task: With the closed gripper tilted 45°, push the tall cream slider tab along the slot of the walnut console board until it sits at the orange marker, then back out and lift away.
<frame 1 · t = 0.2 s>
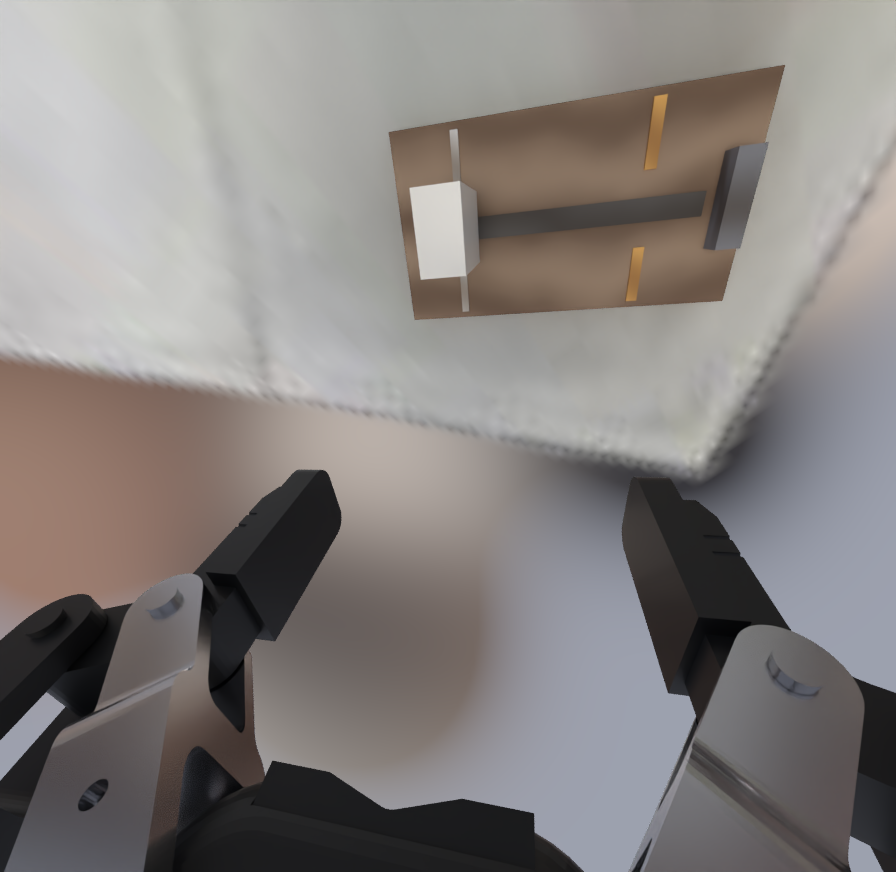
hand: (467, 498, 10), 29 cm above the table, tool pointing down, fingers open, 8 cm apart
slider tab: (451, 231, 26), point 7 cm above the table, slide at 0.0 cm
console board: (558, 219, 30), on the table
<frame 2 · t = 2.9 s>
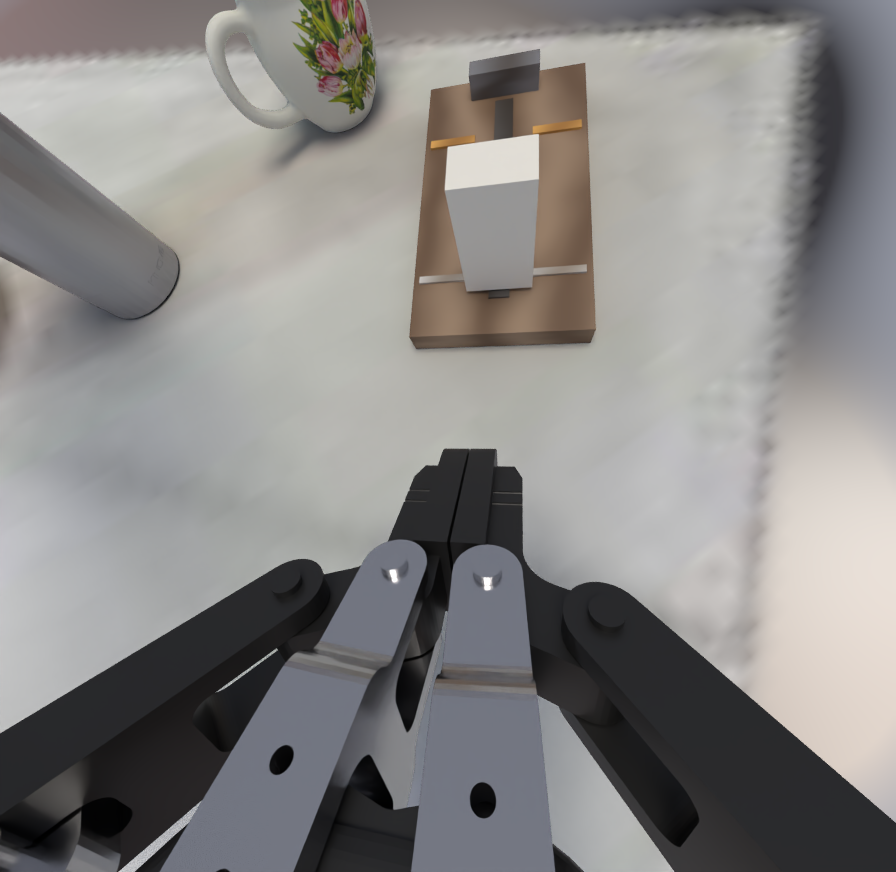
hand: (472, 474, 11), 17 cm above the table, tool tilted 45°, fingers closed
slider tab: (496, 227, 24), point 7 cm above the table, slide at 0.0 cm
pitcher: (338, 116, 39), on the table
console board: (502, 212, 32), on the table
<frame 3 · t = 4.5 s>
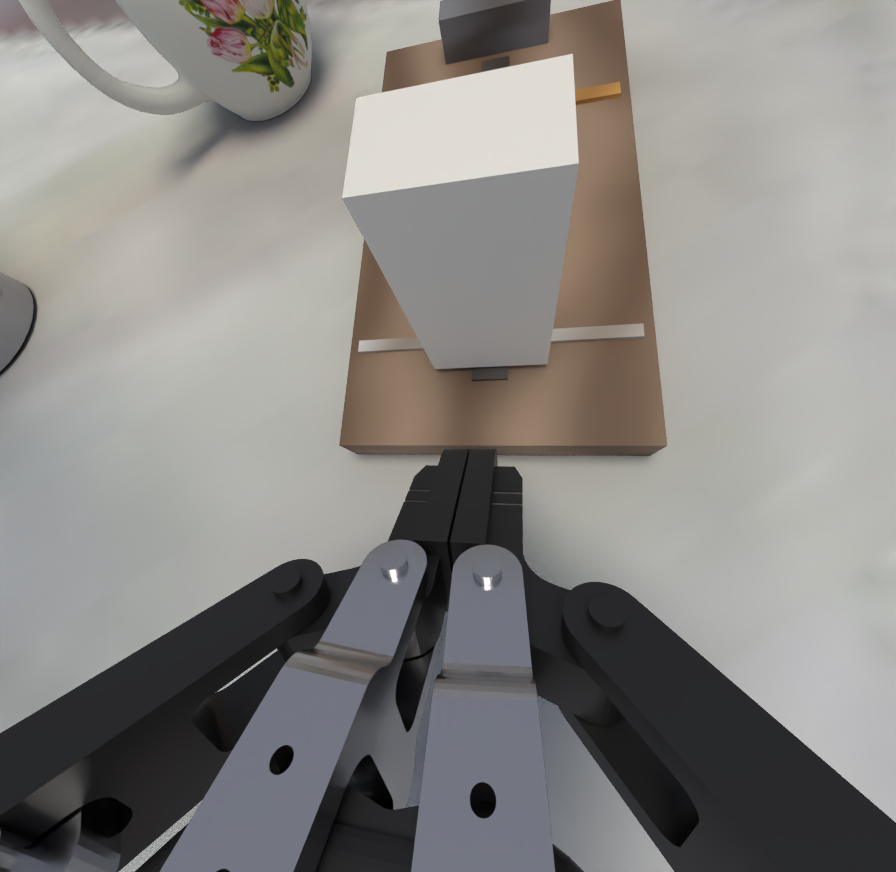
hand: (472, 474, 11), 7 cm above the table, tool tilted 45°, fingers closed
slider tab: (478, 268, 12), point 7 cm above the table, slide at 0.0 cm
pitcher: (265, 99, 28), on the table
console board: (495, 231, 21), on the table
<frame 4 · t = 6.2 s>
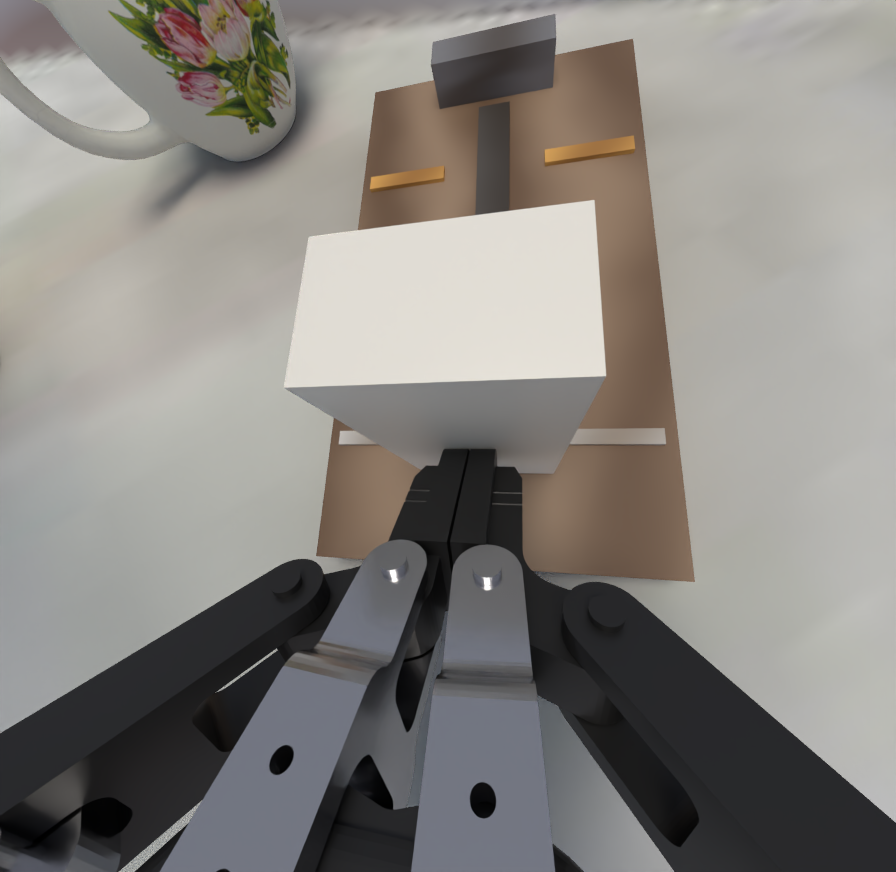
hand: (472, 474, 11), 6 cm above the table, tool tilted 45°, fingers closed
slider tab: (472, 395, 10), point 7 cm above the table, slide at 0.0 cm, touching gripper
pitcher: (246, 137, 26), on the table
console board: (494, 296, 19), on the table
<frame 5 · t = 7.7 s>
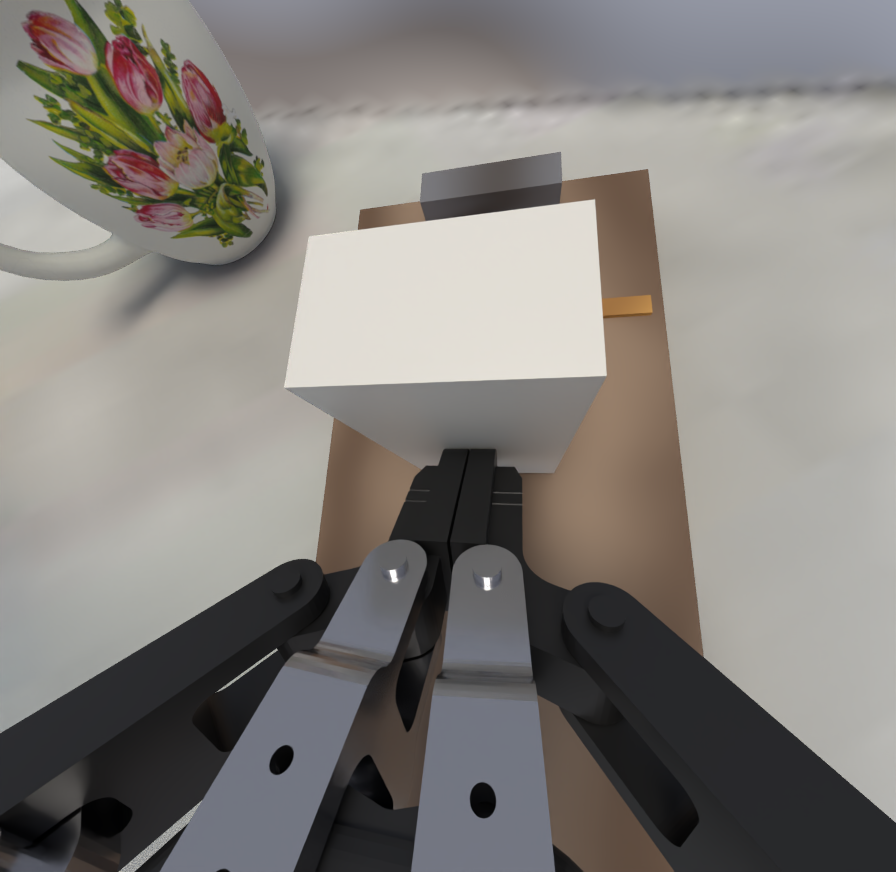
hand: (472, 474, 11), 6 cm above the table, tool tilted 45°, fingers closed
slider tab: (472, 394, 10), point 7 cm above the table, slide at 8.5 cm, touching gripper
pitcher: (223, 235, 24), on the table
console board: (492, 458, 17), on the table
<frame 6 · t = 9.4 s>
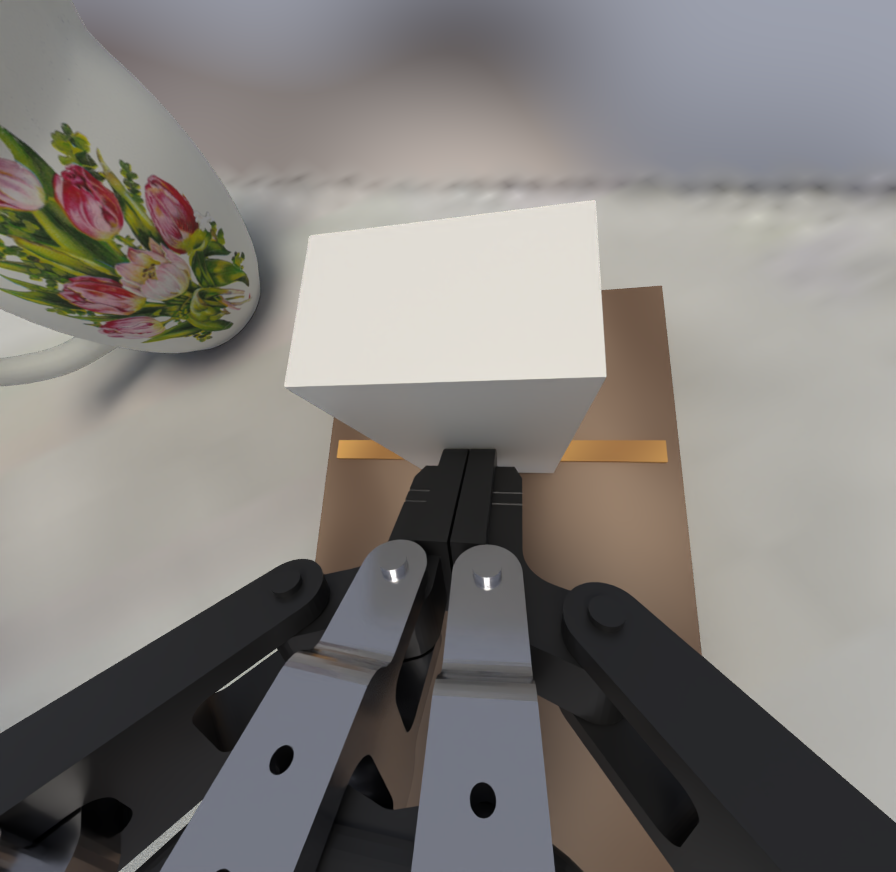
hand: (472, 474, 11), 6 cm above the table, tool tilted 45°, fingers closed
slider tab: (472, 394, 10), point 7 cm above the table, slide at 14.6 cm, touching gripper
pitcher: (204, 314, 23), on the table
console board: (489, 601, 15), on the table
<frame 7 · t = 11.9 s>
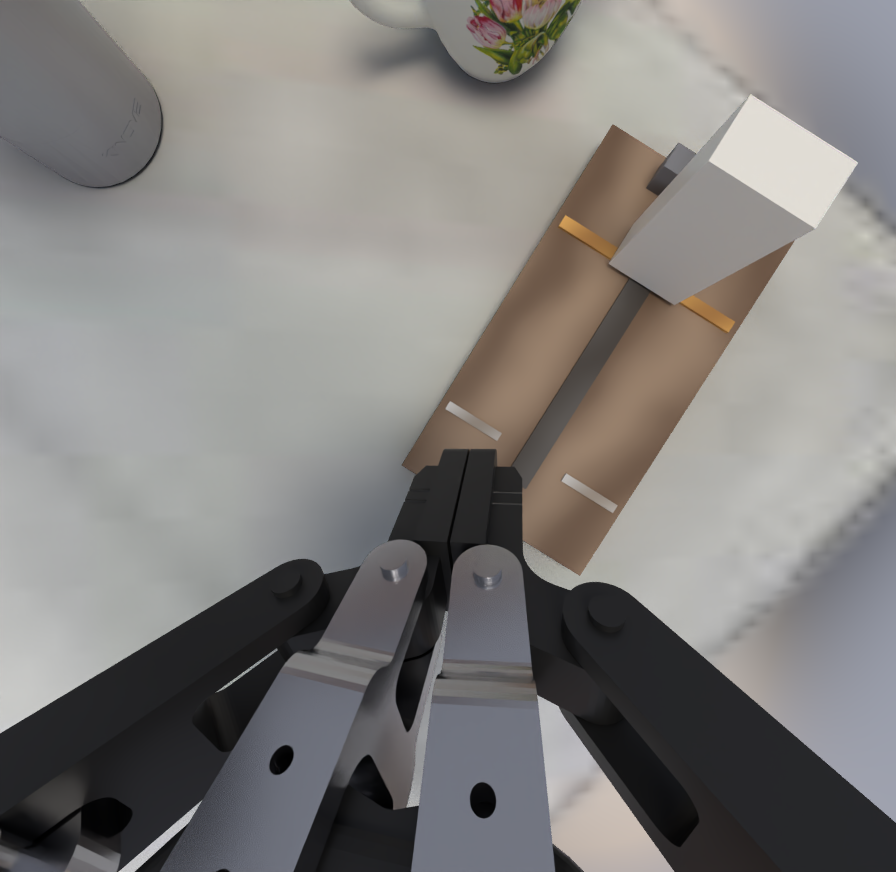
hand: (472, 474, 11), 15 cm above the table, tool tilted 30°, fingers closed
slider tab: (703, 225, 19), point 7 cm above the table, slide at 14.6 cm
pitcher: (481, 42, 25), on the table
console board: (584, 359, 26), on the table
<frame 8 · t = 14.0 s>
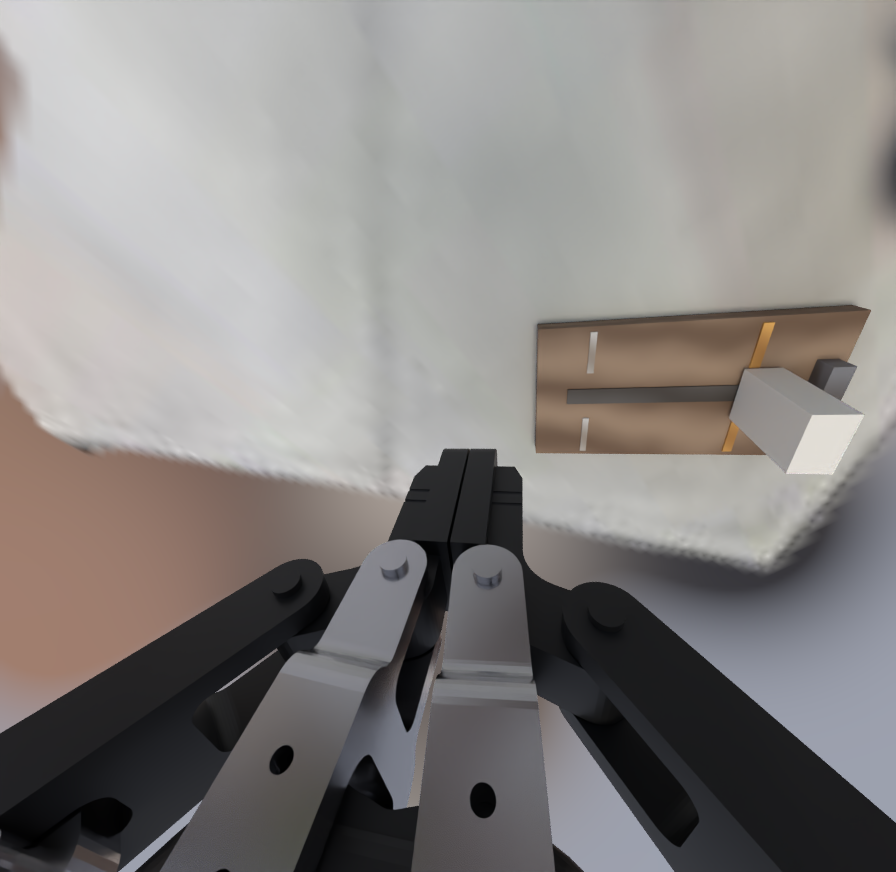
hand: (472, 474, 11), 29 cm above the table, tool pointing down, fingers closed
slider tab: (784, 416, 30), point 7 cm above the table, slide at 14.6 cm
console board: (667, 385, 37), on the table
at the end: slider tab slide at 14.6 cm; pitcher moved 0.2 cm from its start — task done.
